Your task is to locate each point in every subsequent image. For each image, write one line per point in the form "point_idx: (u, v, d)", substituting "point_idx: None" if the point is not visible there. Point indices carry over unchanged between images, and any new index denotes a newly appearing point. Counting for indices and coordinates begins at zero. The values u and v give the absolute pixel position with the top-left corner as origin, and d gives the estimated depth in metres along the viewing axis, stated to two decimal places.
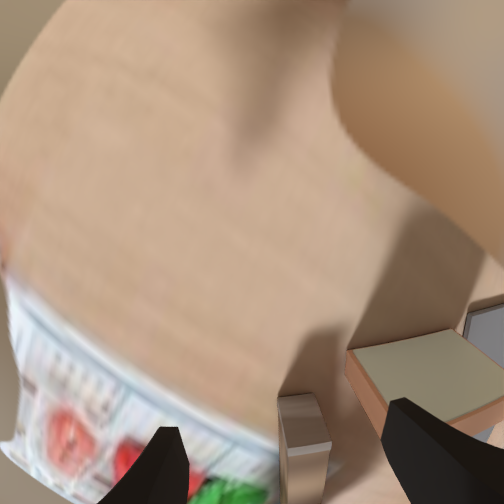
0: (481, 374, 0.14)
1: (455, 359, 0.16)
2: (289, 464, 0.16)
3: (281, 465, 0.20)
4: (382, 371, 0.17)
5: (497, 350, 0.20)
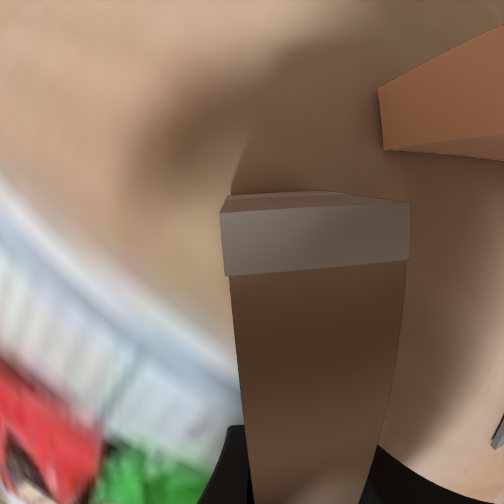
0: None
1: None
2: (239, 335, 0.04)
3: None
4: None
5: None
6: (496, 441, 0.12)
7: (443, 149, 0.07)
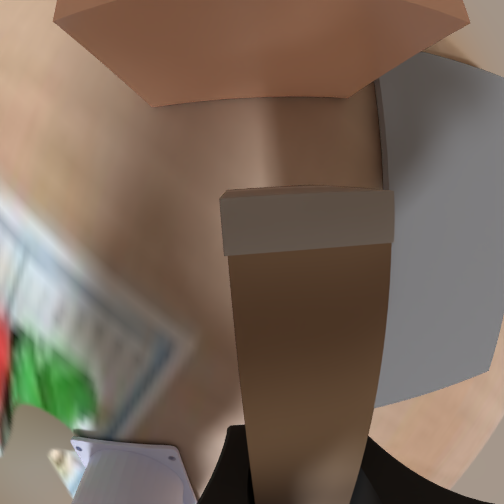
0: None
1: None
2: (237, 312, 0.05)
3: None
4: None
5: (459, 132, 0.13)
6: None
7: (175, 95, 0.11)
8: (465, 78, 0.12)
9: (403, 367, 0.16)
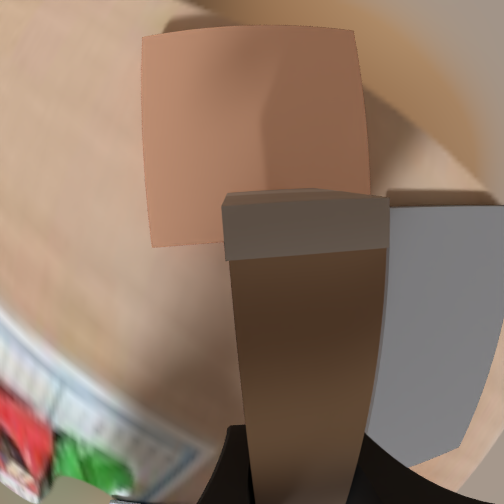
0: None
1: None
2: (237, 314, 0.05)
3: None
4: None
5: (457, 284, 0.15)
6: None
7: (180, 209, 0.12)
8: (476, 224, 0.14)
9: None
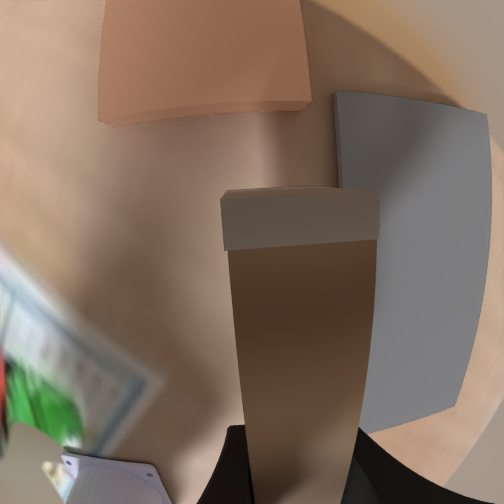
0: None
1: None
2: (235, 301, 0.05)
3: None
4: None
5: (427, 182, 0.14)
6: None
7: (126, 84, 0.11)
8: (440, 121, 0.13)
9: None
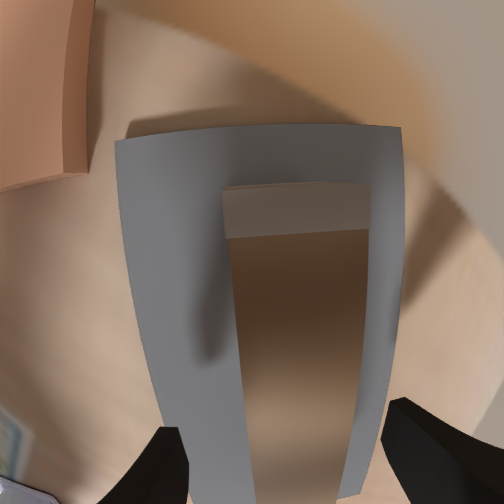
0: None
1: None
2: (236, 287, 0.06)
3: None
4: None
5: None
6: None
7: None
8: (294, 152, 0.10)
9: (219, 491, 0.13)
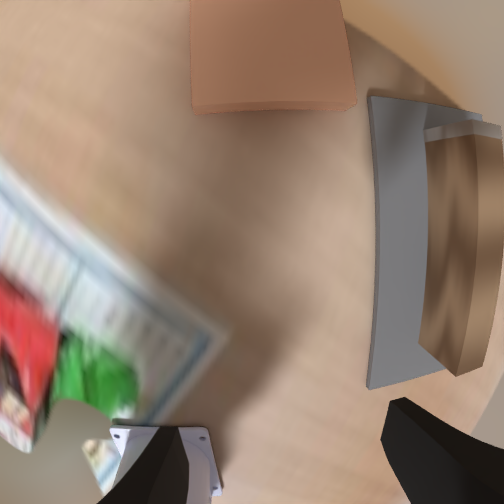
0: None
1: None
2: (476, 150, 0.13)
3: (440, 228, 0.17)
4: None
5: None
6: (368, 381, 0.21)
7: (216, 79, 0.15)
8: (446, 119, 0.17)
9: (393, 355, 0.20)
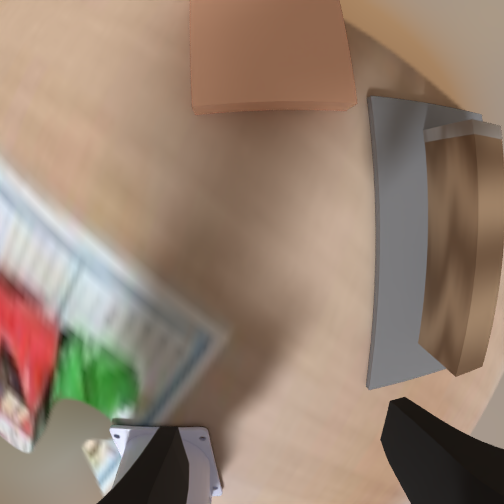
0: None
1: None
2: (476, 150, 0.13)
3: (440, 228, 0.17)
4: None
5: None
6: (368, 381, 0.21)
7: (216, 80, 0.15)
8: (446, 119, 0.17)
9: (393, 355, 0.20)
